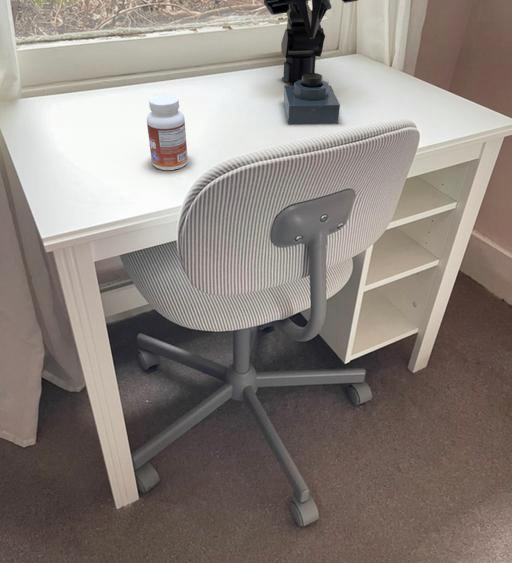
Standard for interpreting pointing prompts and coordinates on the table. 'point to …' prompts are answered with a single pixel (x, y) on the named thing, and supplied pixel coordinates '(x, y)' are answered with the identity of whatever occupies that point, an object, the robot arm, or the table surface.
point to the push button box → (311, 104)
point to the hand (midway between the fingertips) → (311, 38)
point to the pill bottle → (166, 133)
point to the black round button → (312, 80)
